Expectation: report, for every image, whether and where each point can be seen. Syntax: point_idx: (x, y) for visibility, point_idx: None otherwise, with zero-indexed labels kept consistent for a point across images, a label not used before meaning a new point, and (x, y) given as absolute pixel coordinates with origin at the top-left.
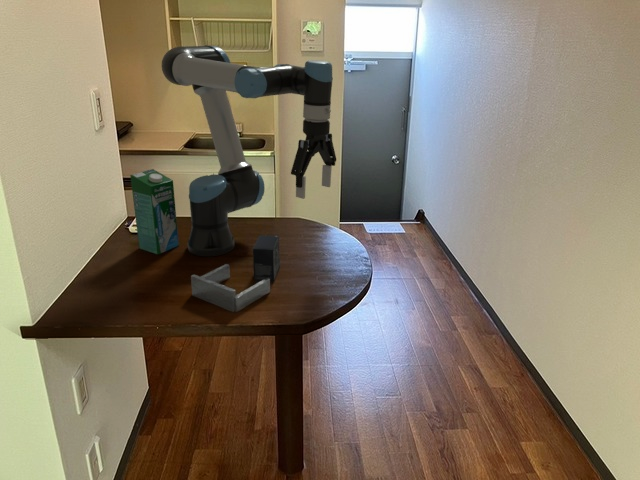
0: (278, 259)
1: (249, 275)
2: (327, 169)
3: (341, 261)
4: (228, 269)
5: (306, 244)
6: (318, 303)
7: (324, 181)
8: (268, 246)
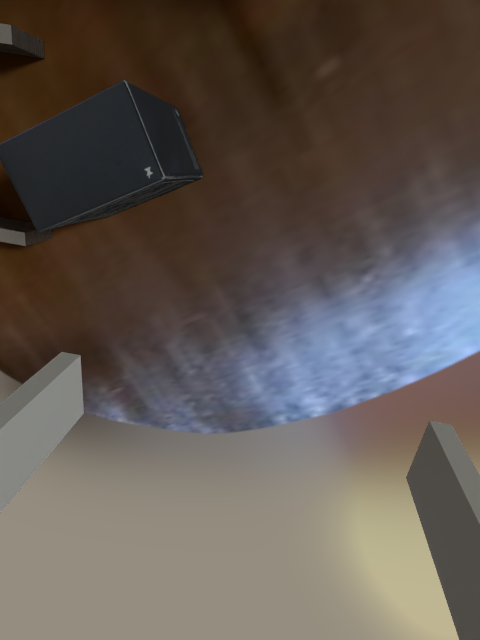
0: (167, 188)
1: None
2: (475, 622)
3: (332, 341)
4: (18, 48)
5: (435, 168)
6: None
7: (435, 472)
8: (43, 202)
